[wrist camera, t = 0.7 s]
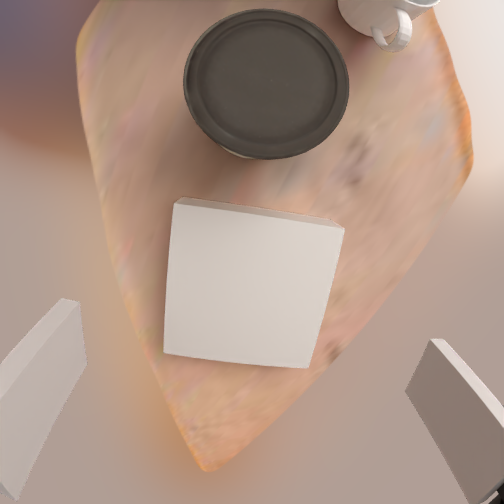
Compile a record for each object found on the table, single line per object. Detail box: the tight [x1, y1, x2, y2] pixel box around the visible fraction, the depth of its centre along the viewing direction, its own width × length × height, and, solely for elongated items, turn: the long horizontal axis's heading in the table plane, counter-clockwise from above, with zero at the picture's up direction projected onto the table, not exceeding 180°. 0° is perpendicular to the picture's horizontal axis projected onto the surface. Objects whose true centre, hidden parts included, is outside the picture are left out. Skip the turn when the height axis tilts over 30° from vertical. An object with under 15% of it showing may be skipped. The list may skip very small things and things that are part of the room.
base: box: [163, 197, 345, 368], centre depth 33 cm, size 16×16×5 cm
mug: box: [338, 0, 440, 52], centre depth 23 cm, size 12×8×10 cm, turn 172°
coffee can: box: [183, 9, 349, 160], centre depth 24 cm, size 10×10×14 cm
